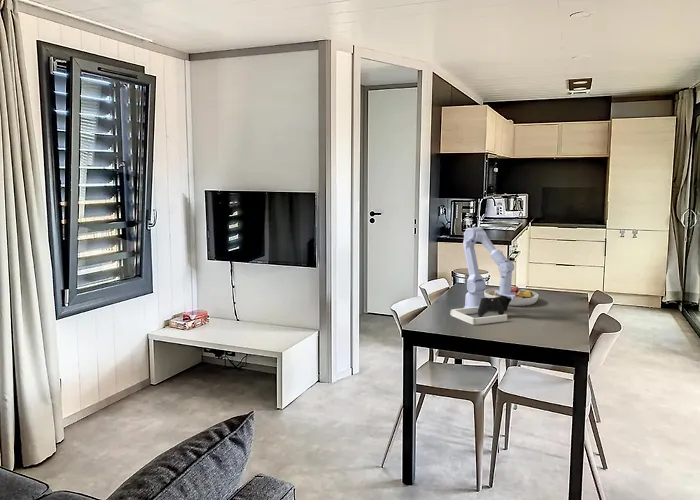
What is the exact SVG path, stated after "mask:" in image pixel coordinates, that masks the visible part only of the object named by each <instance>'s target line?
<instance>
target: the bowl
mask: <svg viewBox="0 0 700 500" xmlns="http://www.w3.org/2000/svg"><path fill="white" fill-rule="evenodd" d="M495 290H499V291H500V287H495V288H494V287H493V288H487V289H485V290H484V291H483V297H484V298H495V297H500V295H497V294H495ZM511 293H512V294H513V295H515V296H516V299H515V300H511V301H510V303H509V305H508V307H509V306H510V307H527V306H531V305H533V304H535V303H537V302H538V300H539V294H538V293H537V292H535V291H532V290H530V289H529V290H528V289H522V288H519V287H518V286H516V285H514V286H511ZM526 305H527V306H526Z"/></svg>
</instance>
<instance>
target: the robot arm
mask: <svg viewBox="0 0 700 500" xmlns="http://www.w3.org/2000/svg"><path fill="white" fill-rule="evenodd" d="M462 241H463V242H462V246H463V251H464V257H465V262H466V267H467V270H468V278H467V280H466V281H467V282H466V289H467V291H468V292H467V293H465V298H464V299H465V302H464V306H463V308H470V307H479V305H480V301H481V298H484V291H485V290H486V288H487V285H486V282H485V280H484V277H483V276H482V275H481V274H480V269H479V266H478V260H477V255H476V249H475V245H476V243H477V242H478V243H481V244H482V245H483V246H484V248H486V249H487V251H488V252H489V253H490V257H491V259H492V260H493V261H494V263H495V264H496V265H497V266H498V268H497V269H498V271H499V288H500V291H499V290H495V294H497V295H500V297H498V298H500V299H501V301H502V304H503V307H504V312H507V311H508V307H509V306H508V305H509V303H510V301H511V300H515V299H516V296H515V295H513V294H512V293H511V288H512V282H513V281H512V279H513V277H512V276H513V271H514V269H515V264H514V263H513V261H511V260H509V258H507V257H506V256H505V254H504V251H502V250H500V249H497V248H496V247H495V245H494V244H493V242H492V241H491V240H490V238H489V237H488V235H487V233H486V231H485V230H484V229H483V228H482V227H481V226H476V227H468V228H466V229H465V231H464V232H463V240H462Z"/></svg>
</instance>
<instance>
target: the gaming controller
mask: <svg viewBox="0 0 700 500" xmlns="http://www.w3.org/2000/svg"><path fill="white" fill-rule="evenodd" d="M488 312H497V313H498V315H505V314H504V313H505V311H504V307H503V304H502V301H501V299H500V298H498V297H495V298H485V297H483V298H481V301H480V305H479V309H478V313H477V316H478V318H479V317H484V315H485V314H486V313H488Z"/></svg>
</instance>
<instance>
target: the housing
mask: <svg viewBox="0 0 700 500" xmlns="http://www.w3.org/2000/svg"><path fill="white" fill-rule="evenodd" d="M478 309H479V307H470V308H464V307H463V308H454V309H453V308H452V309H450V312H449V313H450V314H449V315H450V316H451V317H452V318H453V317H454V318H456V319H458V320H461V321H463V322H466V323H468V324H471V325H473V326H475V325H476V326H477V325H484V324H491V323H500V322H507V321H508V315H507V314H503V315H499V314H498V315H489V316H488V315H487V316H482V317H479V316H478V317H472V316H470V315H472V314H478Z"/></svg>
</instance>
